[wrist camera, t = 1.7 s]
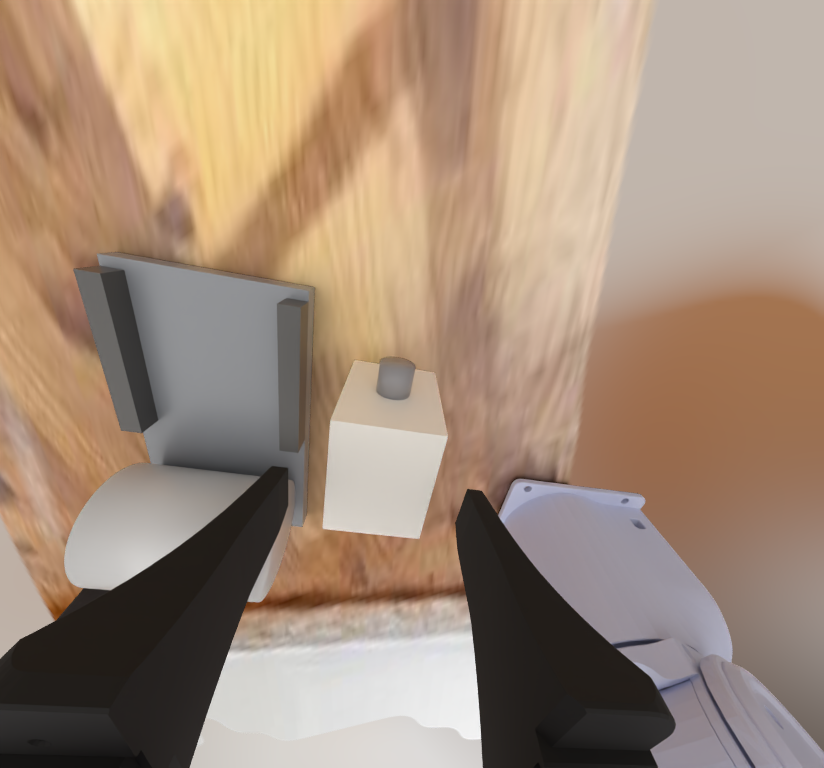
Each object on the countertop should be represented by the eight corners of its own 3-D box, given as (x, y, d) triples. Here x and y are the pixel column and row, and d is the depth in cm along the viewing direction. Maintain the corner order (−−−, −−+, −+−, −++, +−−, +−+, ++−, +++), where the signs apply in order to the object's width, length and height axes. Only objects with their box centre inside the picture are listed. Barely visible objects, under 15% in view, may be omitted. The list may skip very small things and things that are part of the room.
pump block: (440, 348, 17) (456, 405, 11) (415, 455, 20) (418, 538, 14) (357, 335, 16) (332, 387, 11) (345, 446, 19) (322, 528, 14)
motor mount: (314, 287, 15) (248, 328, 9) (306, 514, 22) (266, 628, 16) (116, 252, 14) (-115, 269, 8) (173, 500, 21) (76, 614, 15)
